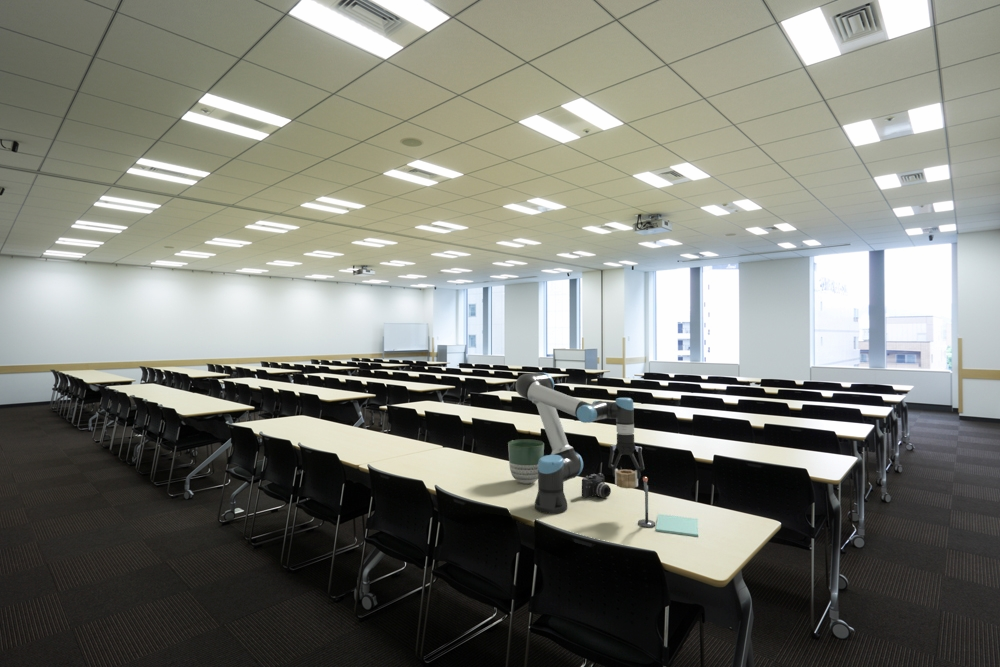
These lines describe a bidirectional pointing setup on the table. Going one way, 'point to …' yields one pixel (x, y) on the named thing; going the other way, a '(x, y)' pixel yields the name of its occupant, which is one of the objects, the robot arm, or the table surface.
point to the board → (677, 525)
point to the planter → (525, 459)
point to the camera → (595, 486)
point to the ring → (626, 478)
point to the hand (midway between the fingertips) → (626, 484)
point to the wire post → (646, 508)
